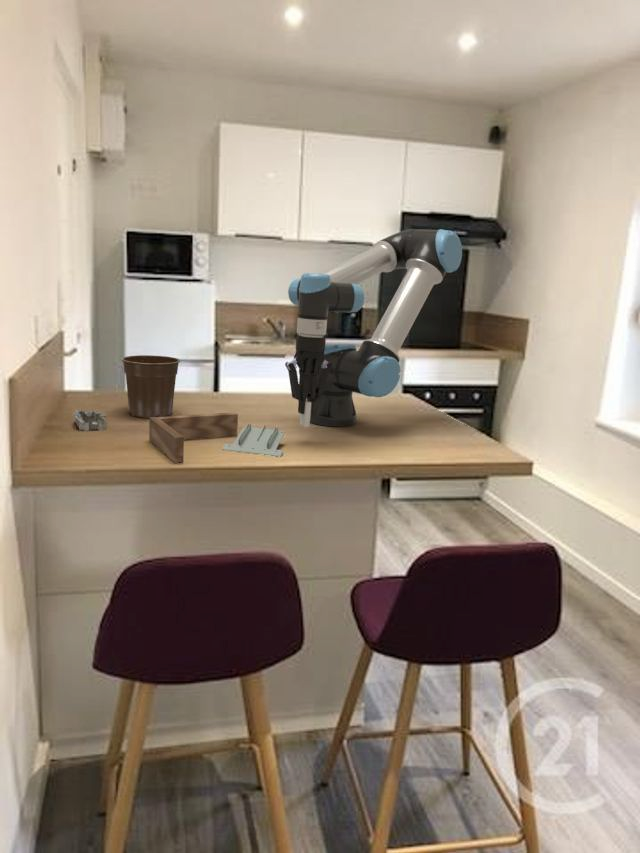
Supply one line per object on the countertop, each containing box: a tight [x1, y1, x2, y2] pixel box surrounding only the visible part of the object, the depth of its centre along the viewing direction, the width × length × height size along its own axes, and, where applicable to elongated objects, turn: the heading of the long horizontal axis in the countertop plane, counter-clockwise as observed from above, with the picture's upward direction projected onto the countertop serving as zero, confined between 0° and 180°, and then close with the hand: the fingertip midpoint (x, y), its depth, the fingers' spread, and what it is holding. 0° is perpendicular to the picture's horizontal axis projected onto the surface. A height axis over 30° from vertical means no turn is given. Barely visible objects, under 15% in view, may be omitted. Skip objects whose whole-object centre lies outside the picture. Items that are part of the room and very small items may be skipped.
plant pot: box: [121, 354, 181, 419], centre depth 198 cm, size 16×16×16 cm
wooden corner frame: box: [148, 412, 239, 464], centre depth 169 cm, size 23×20×6 cm
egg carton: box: [74, 409, 107, 432], centre depth 182 cm, size 11×8×4 cm
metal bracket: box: [221, 423, 286, 458], centre depth 173 cm, size 14×6×15 cm
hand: (304, 425), depth 180 cm, fingers closed
